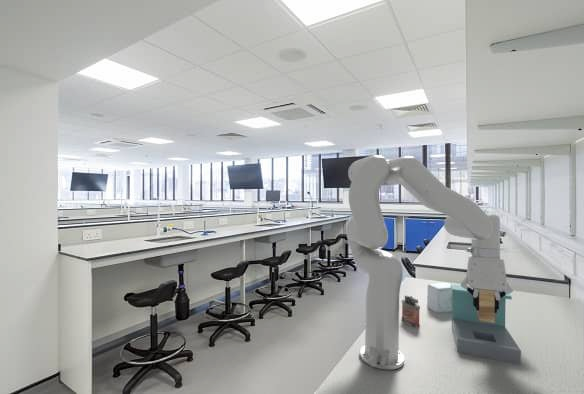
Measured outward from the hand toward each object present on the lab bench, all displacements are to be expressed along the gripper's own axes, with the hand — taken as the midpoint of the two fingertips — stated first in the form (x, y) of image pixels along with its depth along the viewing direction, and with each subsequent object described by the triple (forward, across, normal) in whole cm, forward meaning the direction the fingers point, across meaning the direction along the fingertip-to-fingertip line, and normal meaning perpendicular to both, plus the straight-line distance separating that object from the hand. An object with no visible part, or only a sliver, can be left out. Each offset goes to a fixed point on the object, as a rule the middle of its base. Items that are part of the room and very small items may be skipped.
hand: (485, 309), depth 91 cm
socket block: (+12, -1, +3) cm, 13 cm away
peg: (+3, 0, 0) cm, 3 cm away
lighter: (+12, -23, +10) cm, 28 cm away
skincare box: (+13, -11, +31) cm, 35 cm away
